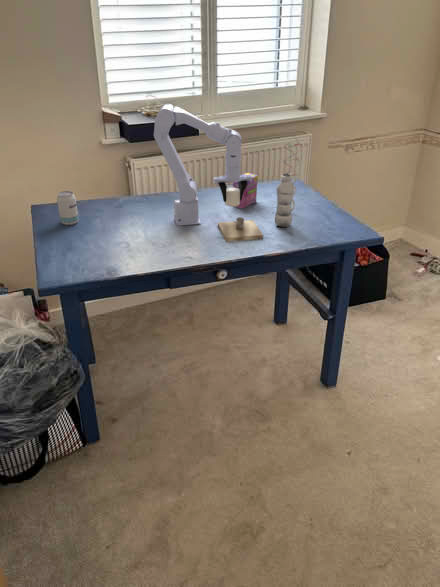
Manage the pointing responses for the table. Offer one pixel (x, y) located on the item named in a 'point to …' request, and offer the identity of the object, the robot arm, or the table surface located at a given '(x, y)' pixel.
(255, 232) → the stud base
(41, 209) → the table surface
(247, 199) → the box
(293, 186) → the dna model
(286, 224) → the plastic bottle
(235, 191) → the cap
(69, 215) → the beverage can
